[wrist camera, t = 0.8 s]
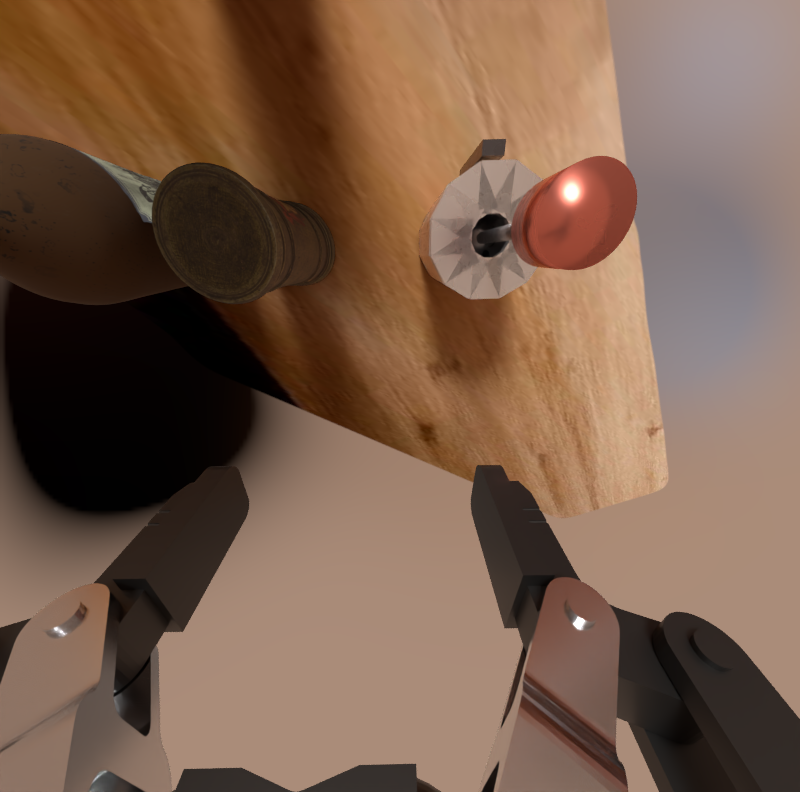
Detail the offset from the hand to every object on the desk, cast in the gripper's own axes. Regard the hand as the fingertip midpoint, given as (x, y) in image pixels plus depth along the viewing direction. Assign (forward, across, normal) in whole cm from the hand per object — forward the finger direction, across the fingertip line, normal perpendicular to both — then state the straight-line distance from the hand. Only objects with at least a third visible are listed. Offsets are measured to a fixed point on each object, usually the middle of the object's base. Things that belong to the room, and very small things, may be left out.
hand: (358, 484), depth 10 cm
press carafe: (+32, -9, -8) cm, 35 cm away
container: (+33, +11, -7) cm, 35 cm away
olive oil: (+33, +23, -8) cm, 41 cm away
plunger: (+23, -9, -8) cm, 26 cm away
